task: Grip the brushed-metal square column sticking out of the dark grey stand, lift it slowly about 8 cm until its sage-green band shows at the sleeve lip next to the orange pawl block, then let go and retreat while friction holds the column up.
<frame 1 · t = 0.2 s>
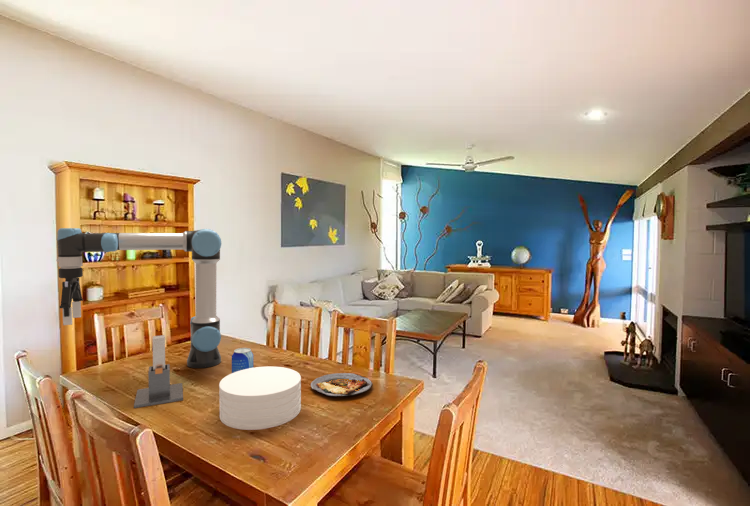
hand: (72, 321, 158), 28 cm above the table, fingers open, 13 cm apart
stand: (159, 396, 155), on the table
column: (159, 365, 154), point 12 cm above the table, slide at 0.0 cm
plate stack: (261, 411, 144), on the table
beer can: (242, 389, 163), on the table
food plate: (341, 388, 165), on the table
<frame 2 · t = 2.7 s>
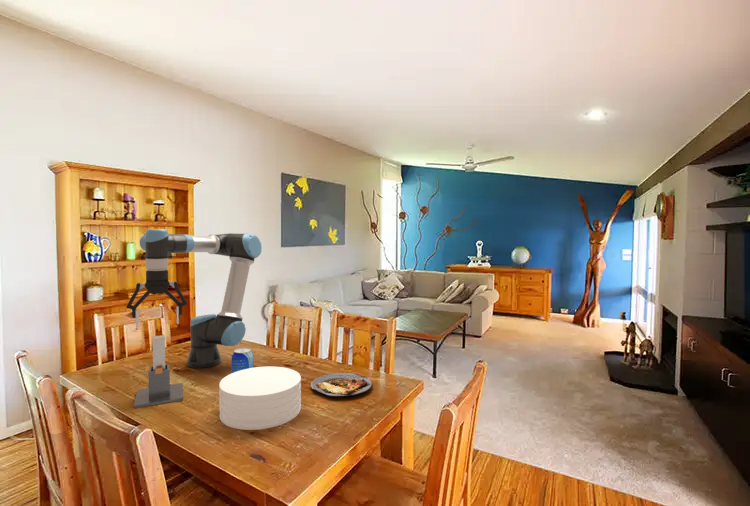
hand: (157, 324, 153), 28 cm above the table, fingers open, 13 cm apart
nothing on the table moved.
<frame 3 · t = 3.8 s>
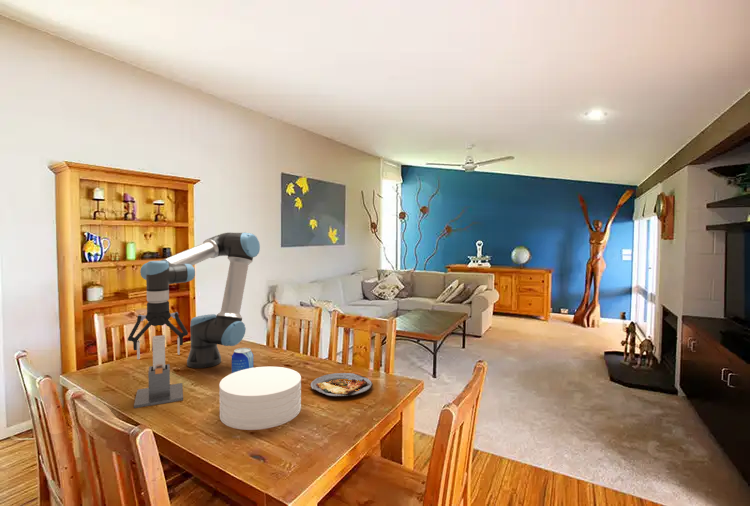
hand: (159, 356, 154), 16 cm above the table, fingers open, 13 cm apart
nothing on the table moved.
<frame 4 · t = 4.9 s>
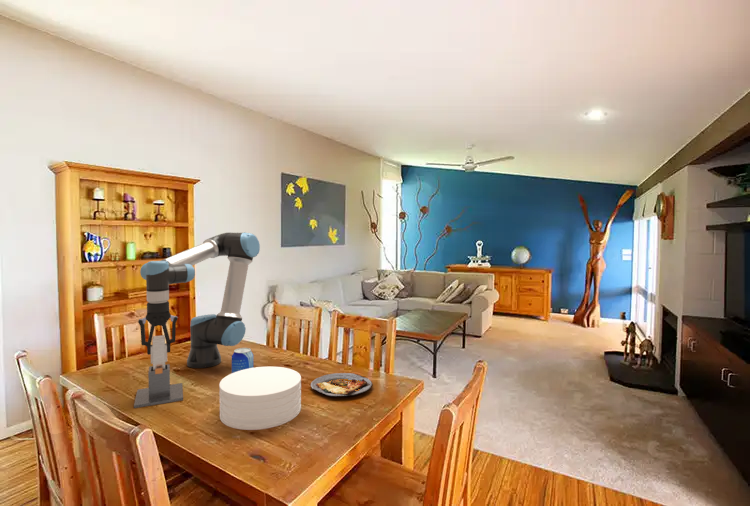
hand: (159, 361, 154), 14 cm above the table, fingers closed on column, 4 cm apart
column: (159, 365, 154), point 12 cm above the table, slide at 0.0 cm, touching gripper
everything else where it was.
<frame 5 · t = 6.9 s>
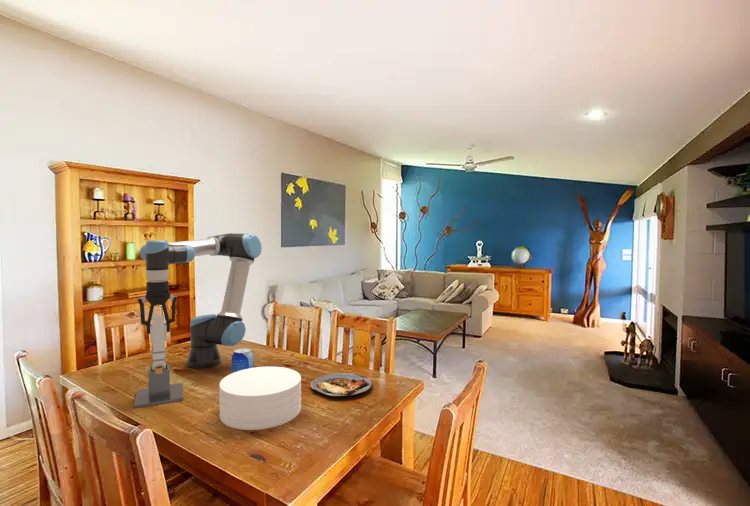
hand: (158, 341, 154), 22 cm above the table, fingers closed on column, 4 cm apart
column: (158, 344, 154), point 20 cm above the table, slide at 8.0 cm, touching gripper
everything else where it was.
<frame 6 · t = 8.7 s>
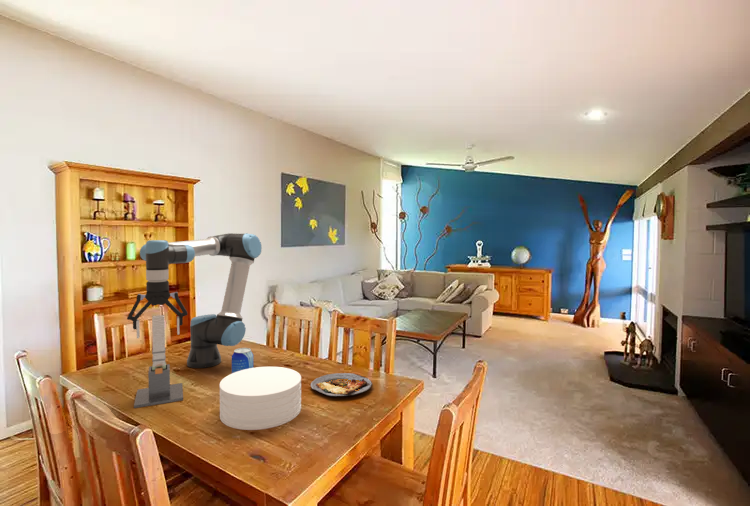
hand: (158, 335, 154), 24 cm above the table, fingers open, 13 cm apart
column: (158, 344, 154), point 20 cm above the table, slide at 8.0 cm
everything else where it was.
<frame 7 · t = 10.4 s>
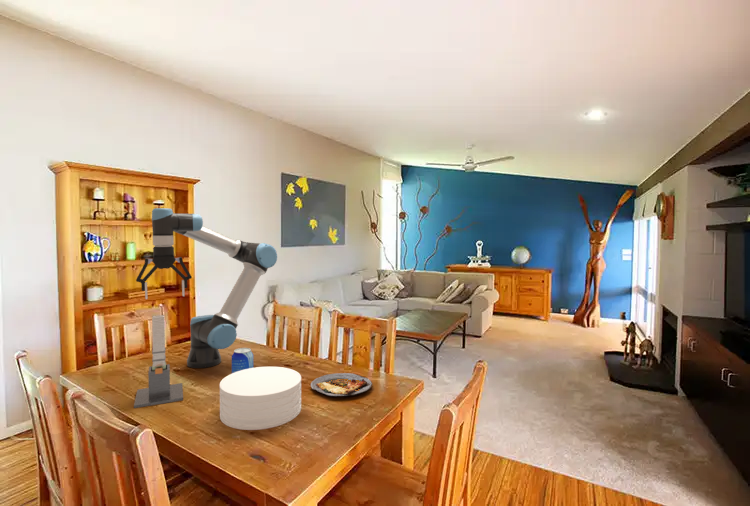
hand: (165, 297, 166), 36 cm above the table, fingers open, 13 cm apart
nothing on the table moved.
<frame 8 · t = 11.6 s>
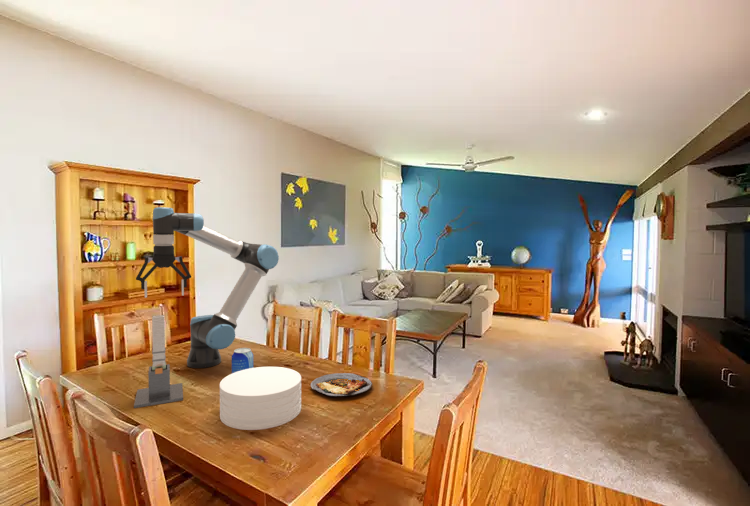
hand: (164, 296, 166), 37 cm above the table, fingers open, 13 cm apart
nothing on the table moved.
at the end: column slide at 8.0 cm; the gripper is holding nothing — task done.
